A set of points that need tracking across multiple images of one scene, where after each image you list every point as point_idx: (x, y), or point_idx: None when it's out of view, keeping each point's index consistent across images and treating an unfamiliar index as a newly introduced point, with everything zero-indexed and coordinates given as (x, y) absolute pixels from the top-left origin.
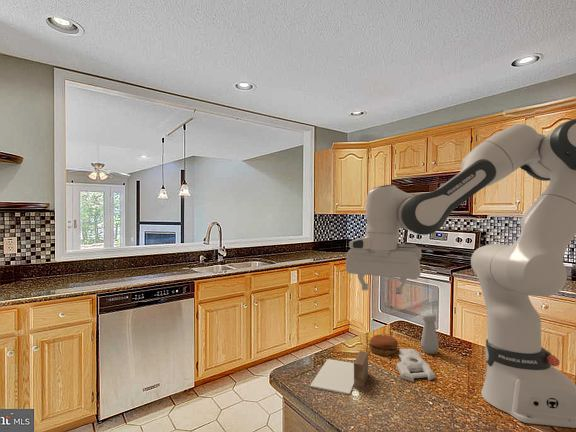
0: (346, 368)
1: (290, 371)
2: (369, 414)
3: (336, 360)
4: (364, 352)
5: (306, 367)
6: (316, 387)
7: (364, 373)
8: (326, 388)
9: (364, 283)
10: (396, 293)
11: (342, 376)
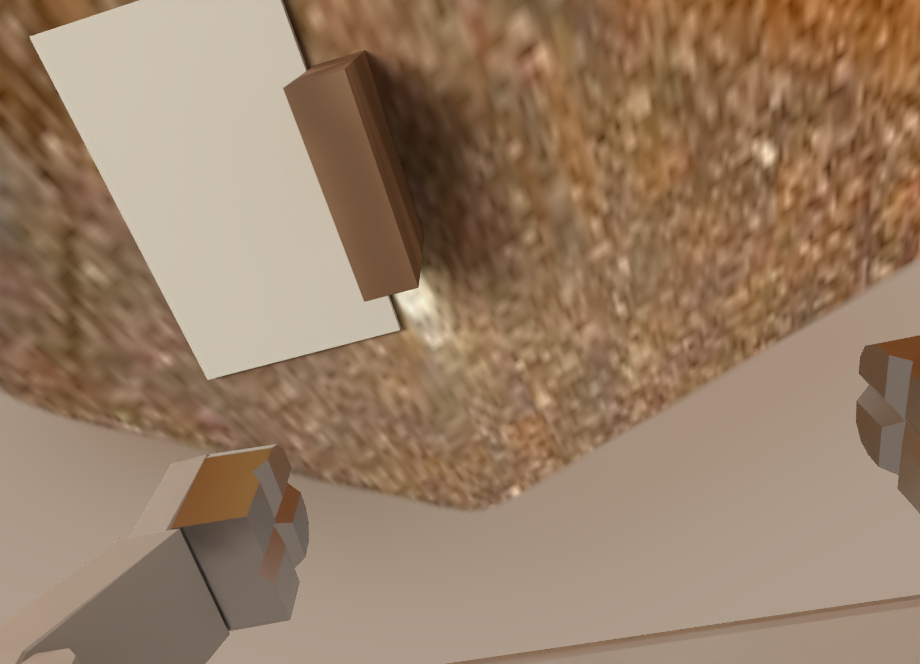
0: (225, 92)
1: (9, 312)
2: (540, 400)
3: (93, 19)
4: (328, 94)
5: (28, 218)
6: (241, 370)
7: (403, 200)
8: (286, 356)
9: (202, 594)
10: (869, 437)
11: (272, 205)
